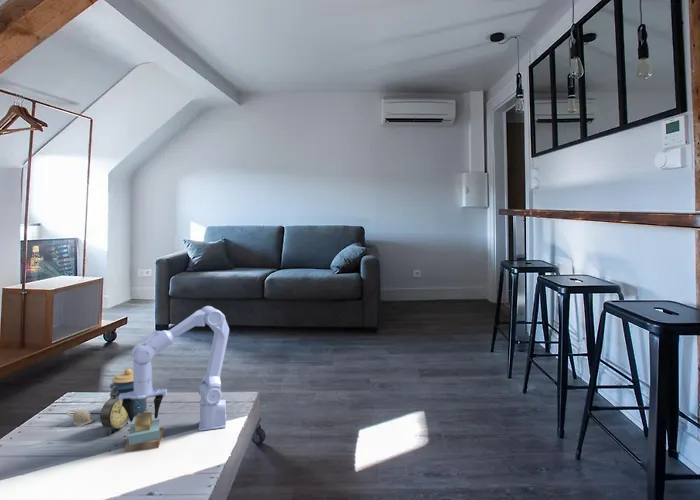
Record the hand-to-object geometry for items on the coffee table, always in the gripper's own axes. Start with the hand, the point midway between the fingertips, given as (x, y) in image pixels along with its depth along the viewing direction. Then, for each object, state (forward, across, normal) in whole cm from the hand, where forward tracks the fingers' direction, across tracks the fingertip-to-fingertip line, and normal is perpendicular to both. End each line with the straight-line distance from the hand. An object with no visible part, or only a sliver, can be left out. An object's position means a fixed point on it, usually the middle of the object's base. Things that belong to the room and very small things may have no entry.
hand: (144, 418), depth 139 cm
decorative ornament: (+9, -26, +23) cm, 36 cm away
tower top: (+6, 0, 0) cm, 6 cm away
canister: (+9, -11, +28) cm, 31 cm away
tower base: (+9, 0, 0) cm, 9 cm away
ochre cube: (+3, 0, 0) cm, 3 cm away
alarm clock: (+9, -12, +13) cm, 20 cm away
